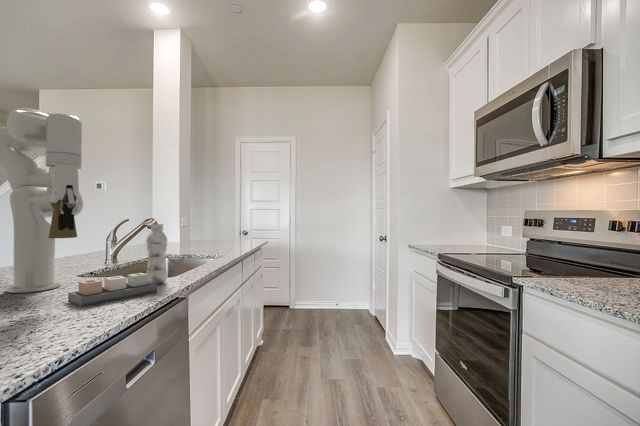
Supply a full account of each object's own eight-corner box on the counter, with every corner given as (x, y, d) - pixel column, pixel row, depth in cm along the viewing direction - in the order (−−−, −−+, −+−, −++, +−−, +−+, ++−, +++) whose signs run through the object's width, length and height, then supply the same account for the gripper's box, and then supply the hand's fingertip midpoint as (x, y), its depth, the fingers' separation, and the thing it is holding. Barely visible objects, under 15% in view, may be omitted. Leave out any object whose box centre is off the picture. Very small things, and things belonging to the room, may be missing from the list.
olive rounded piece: (60, 238, 81) (60, 195, 81) (42, 238, 83) (42, 196, 83) (83, 237, 87) (83, 197, 87) (65, 236, 89) (66, 197, 89)
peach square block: (78, 292, 84) (78, 281, 84) (96, 290, 87) (96, 278, 87) (84, 295, 81) (84, 283, 81) (102, 292, 85) (102, 280, 85)
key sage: (127, 284, 94) (127, 274, 94) (141, 282, 97) (141, 272, 97) (133, 286, 91) (133, 276, 91) (147, 284, 94) (148, 273, 94)
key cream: (104, 288, 89) (104, 277, 89) (119, 286, 92) (120, 275, 92) (110, 290, 86) (110, 279, 86) (126, 288, 90) (126, 277, 90)
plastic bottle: (144, 286, 102) (144, 224, 102) (147, 282, 108) (147, 224, 108) (166, 285, 104) (166, 224, 104) (168, 281, 110) (168, 224, 110)
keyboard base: (68, 302, 84) (68, 292, 84) (142, 288, 99) (142, 280, 99) (81, 308, 79) (81, 298, 79) (157, 293, 94) (157, 284, 94)
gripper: (37, 162, 87) (37, 229, 87) (55, 156, 77) (54, 231, 77) (71, 166, 93) (70, 228, 93) (91, 160, 83) (90, 230, 83)
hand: (63, 228), depth 85 cm, fingers closed on olive rounded piece, 4 cm apart
